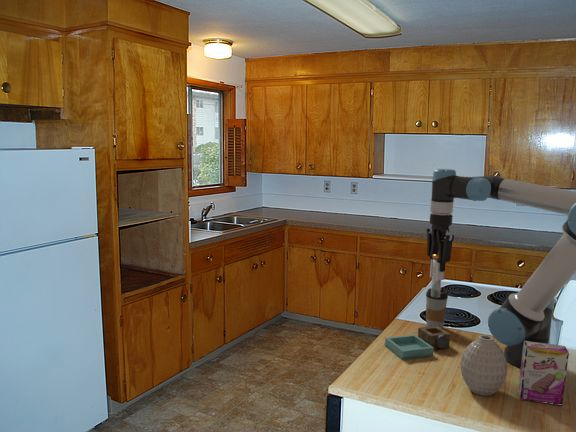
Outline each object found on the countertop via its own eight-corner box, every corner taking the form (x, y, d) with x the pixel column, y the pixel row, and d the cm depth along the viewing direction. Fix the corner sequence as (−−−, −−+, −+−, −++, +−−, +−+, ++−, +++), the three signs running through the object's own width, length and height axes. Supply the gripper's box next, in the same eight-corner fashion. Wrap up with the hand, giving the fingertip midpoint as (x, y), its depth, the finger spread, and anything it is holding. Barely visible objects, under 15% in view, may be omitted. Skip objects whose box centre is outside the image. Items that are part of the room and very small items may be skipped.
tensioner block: (451, 348, 181) (453, 335, 180) (432, 351, 179) (433, 337, 178) (436, 338, 190) (437, 325, 189) (417, 340, 188) (418, 327, 187)
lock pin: (443, 297, 181) (446, 255, 179) (433, 298, 180) (436, 256, 178) (436, 294, 185) (439, 253, 182) (427, 294, 184) (430, 253, 181)
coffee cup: (429, 322, 207) (431, 286, 205) (449, 327, 202) (451, 290, 200) (420, 327, 201) (422, 290, 199) (440, 333, 196) (443, 295, 193)
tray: (433, 355, 175) (433, 347, 174) (402, 359, 171) (402, 351, 171) (414, 342, 186) (414, 334, 186) (385, 345, 183) (385, 337, 182)
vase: (512, 391, 151) (517, 338, 149) (492, 406, 143) (498, 350, 140) (471, 376, 160) (475, 325, 158) (450, 389, 152) (455, 336, 149)
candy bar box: (520, 400, 146) (525, 346, 144) (517, 392, 151) (522, 339, 148) (563, 407, 143) (569, 351, 141) (559, 398, 148) (565, 344, 145)
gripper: (465, 216, 171) (459, 284, 175) (437, 209, 186) (432, 272, 190) (445, 217, 169) (440, 285, 173) (419, 210, 184) (415, 273, 188)
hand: (436, 278), depth 181 cm, fingers closed on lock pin, 3 cm apart
